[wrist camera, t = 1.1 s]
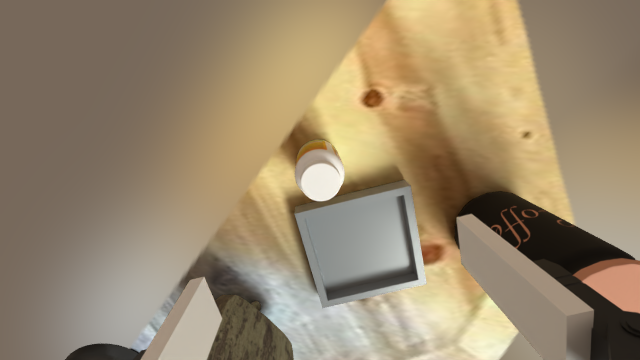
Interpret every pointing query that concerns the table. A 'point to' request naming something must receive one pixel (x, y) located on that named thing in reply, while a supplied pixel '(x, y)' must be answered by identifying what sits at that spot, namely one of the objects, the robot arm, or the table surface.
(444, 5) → the table surface
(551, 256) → the coffee jar
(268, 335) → the tabletop clock
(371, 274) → the tray
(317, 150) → the supplement bottle
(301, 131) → the table surface
